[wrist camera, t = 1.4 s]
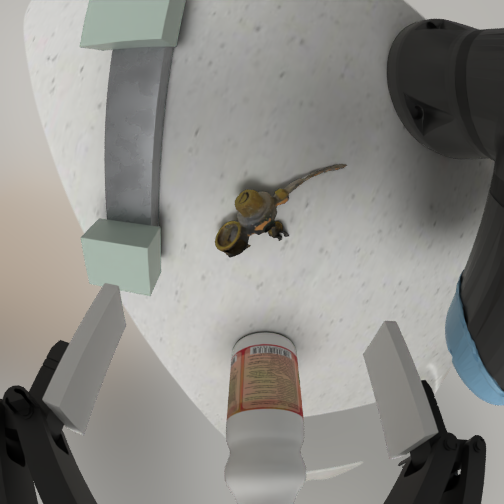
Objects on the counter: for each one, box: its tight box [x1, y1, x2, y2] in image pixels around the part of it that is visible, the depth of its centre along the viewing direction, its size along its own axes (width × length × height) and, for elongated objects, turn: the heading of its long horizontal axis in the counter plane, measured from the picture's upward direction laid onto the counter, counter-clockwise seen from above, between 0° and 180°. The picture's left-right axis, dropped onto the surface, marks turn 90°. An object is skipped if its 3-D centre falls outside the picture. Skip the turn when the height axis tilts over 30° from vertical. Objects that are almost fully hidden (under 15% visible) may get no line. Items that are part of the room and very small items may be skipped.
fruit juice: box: [224, 332, 306, 504], centre depth 28 cm, size 9×9×28 cm
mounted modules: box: [80, 0, 186, 296], centre depth 20 cm, size 7×28×4 cm, turn 171°
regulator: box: [215, 164, 347, 257], centre depth 27 cm, size 8×4×15 cm
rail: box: [105, 47, 174, 227], centre depth 23 cm, size 5×28×2 cm, turn 171°
